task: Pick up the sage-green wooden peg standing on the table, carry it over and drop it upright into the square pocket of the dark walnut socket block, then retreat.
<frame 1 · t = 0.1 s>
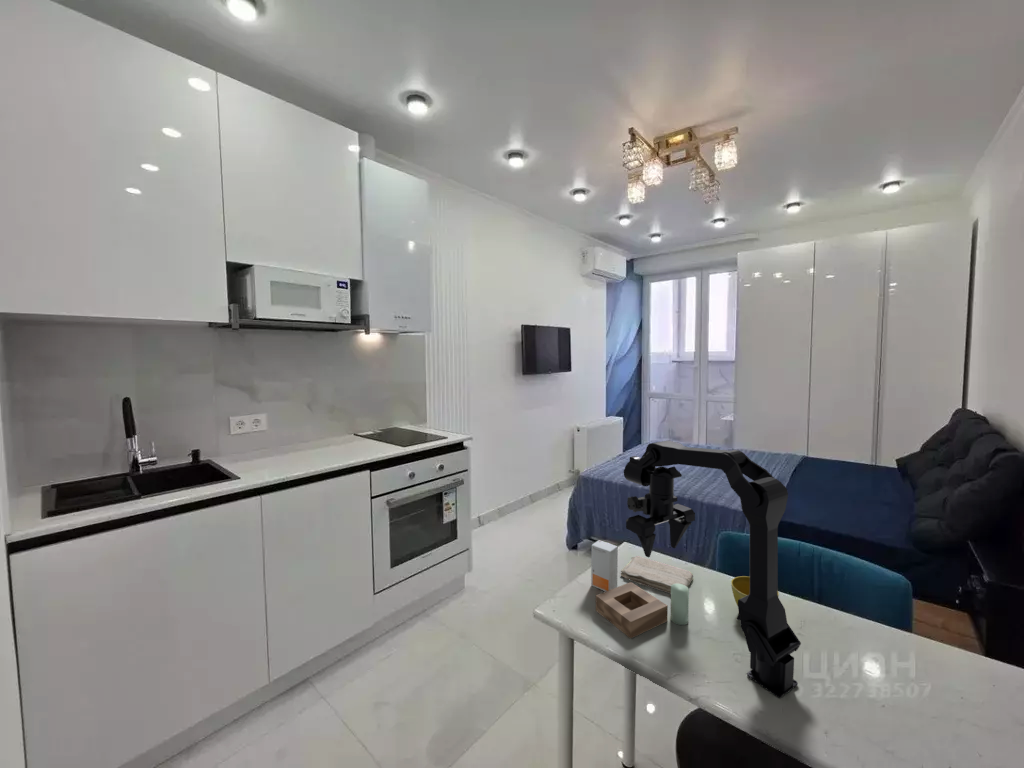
hand: (660, 552, 107), 14 cm above the table, fingers open, 9 cm apart
sage peg: (679, 619, 103), on the table
skincare box: (604, 587, 117), on the table
yellow bowl: (753, 615, 104), on the table
washcloth: (656, 579, 122), on the table
walnut socket: (630, 615, 105), on the table
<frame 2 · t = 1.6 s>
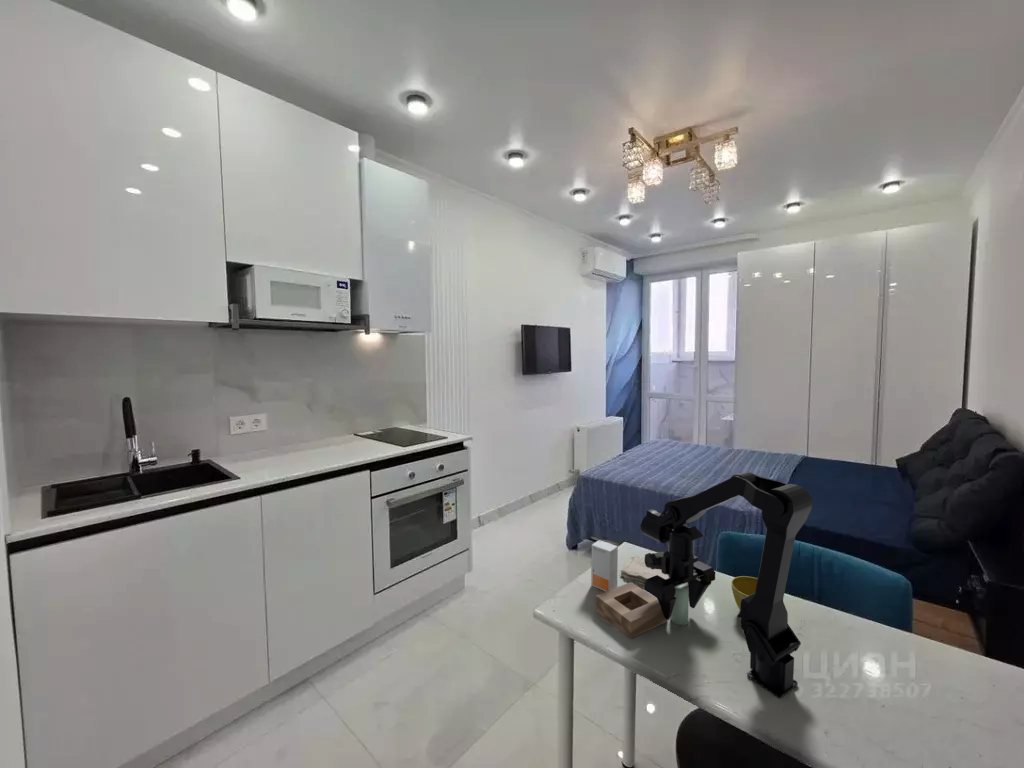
hand: (679, 613, 103), 2 cm above the table, fingers open, 9 cm apart
nothing on the table moved.
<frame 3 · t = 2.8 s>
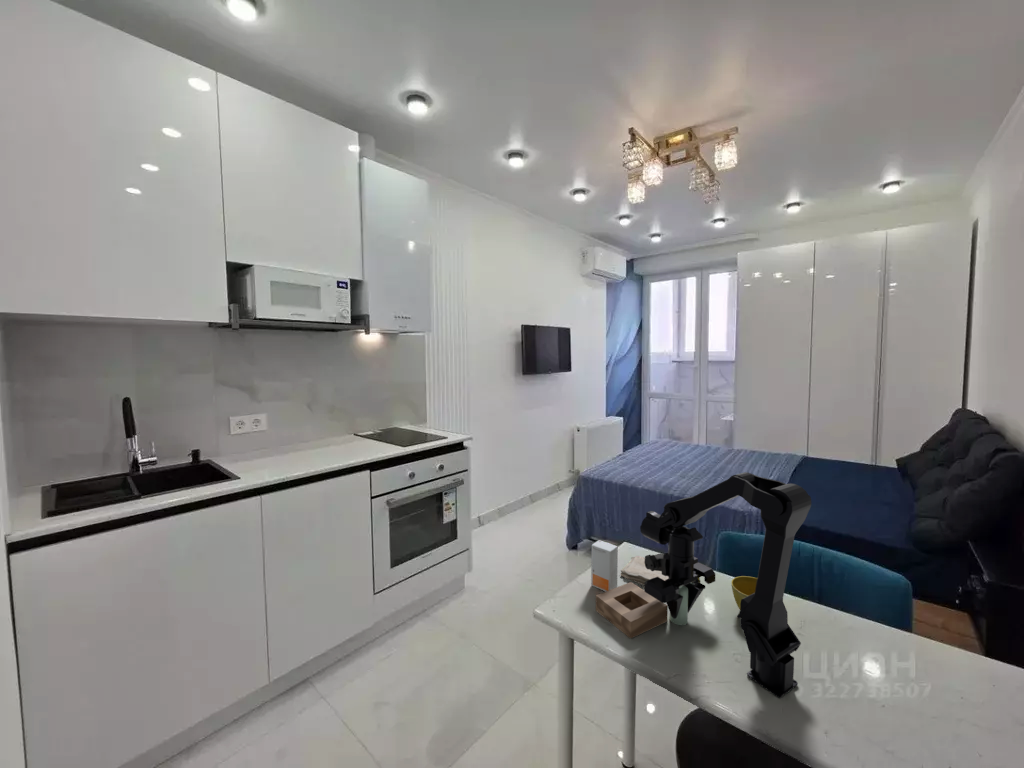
hand: (680, 614, 102), 1 cm above the table, fingers closed on sage peg, 4 cm apart
sage peg: (678, 619, 103), on the table, touching gripper
everything else where it was.
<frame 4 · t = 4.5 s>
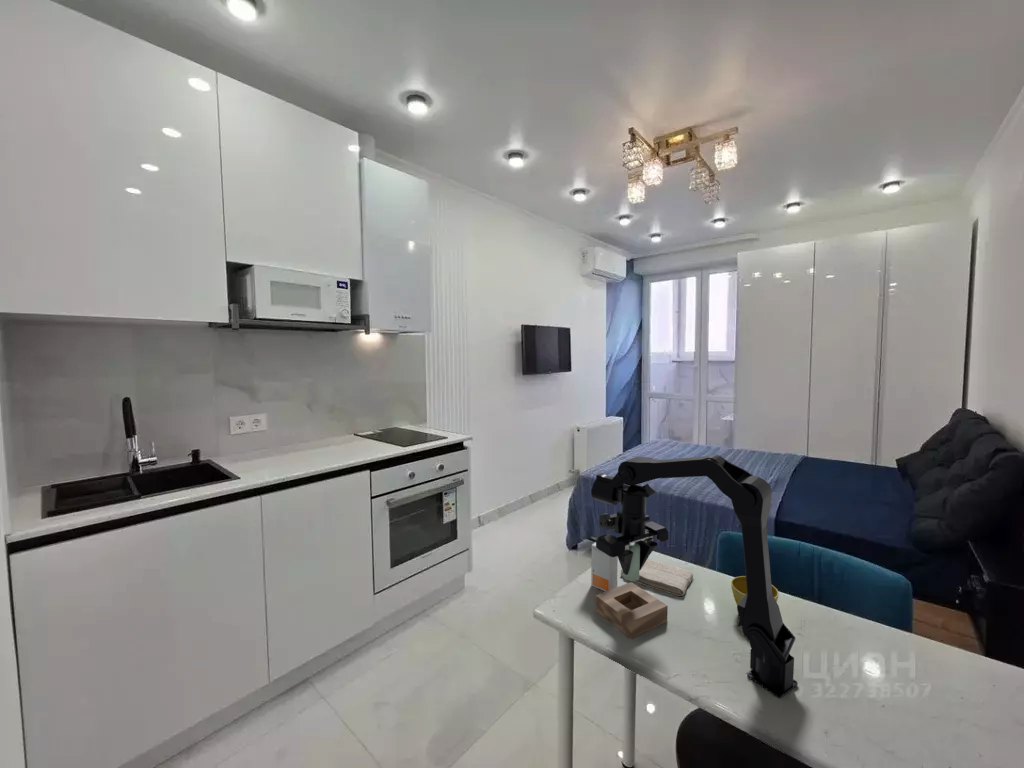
hand: (632, 571, 104), 11 cm above the table, fingers closed on sage peg, 4 cm apart
sage peg: (630, 576, 104), point 10 cm above the table, touching gripper
everything else where it was.
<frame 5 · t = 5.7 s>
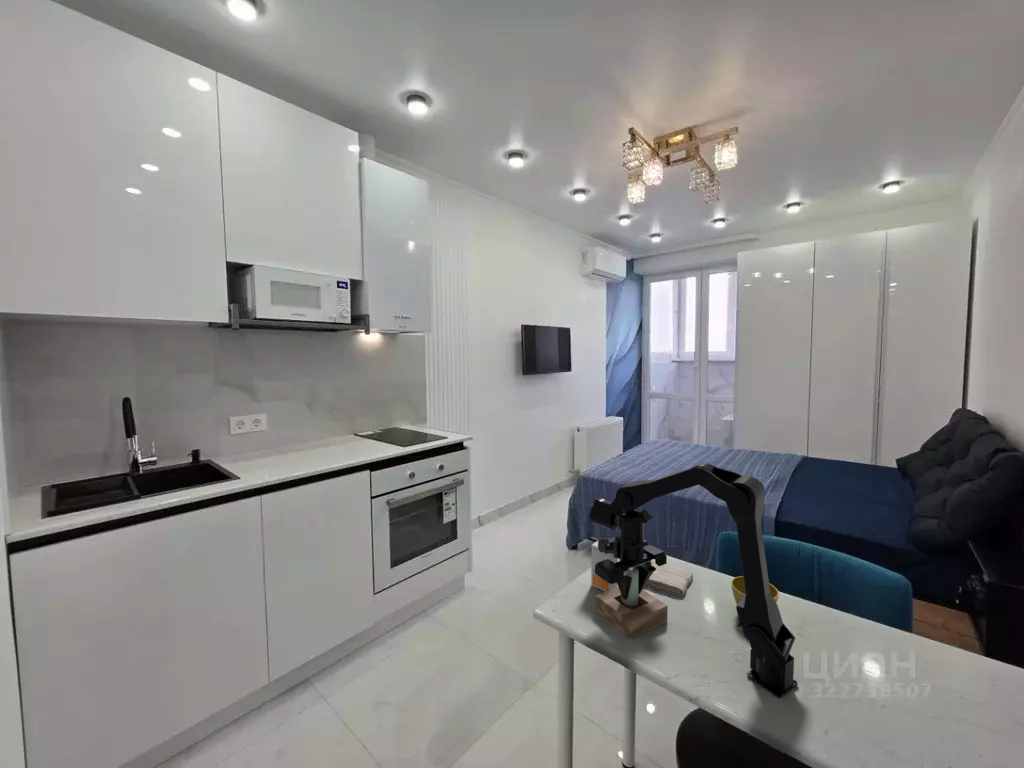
hand: (631, 596, 104), 5 cm above the table, fingers closed on sage peg, 4 cm apart
sage peg: (629, 601, 105), point 4 cm above the table, touching gripper
everything else where it was.
when the fingers open (5 cm above the table, at t = 6.3 s): sage peg drops 2 cm, resting on walnut socket.
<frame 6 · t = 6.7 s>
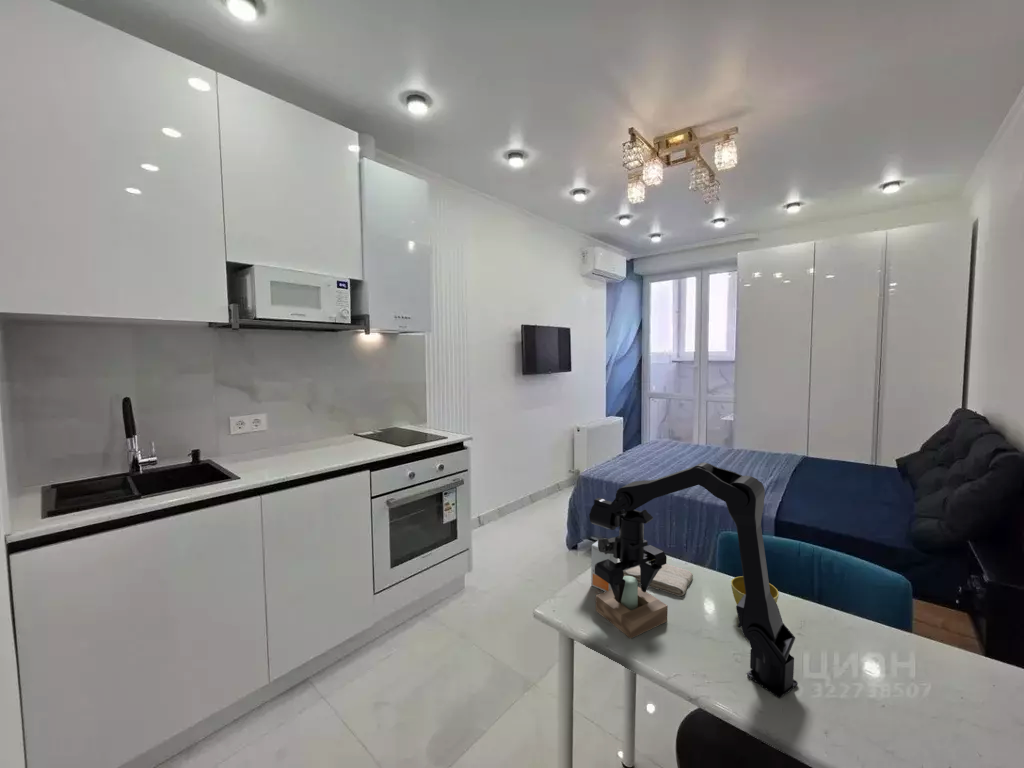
hand: (631, 596, 104), 5 cm above the table, fingers open, 8 cm apart
sage peg: (629, 610, 105), point 1 cm above the table, touching walnut socket
everything else where it was.
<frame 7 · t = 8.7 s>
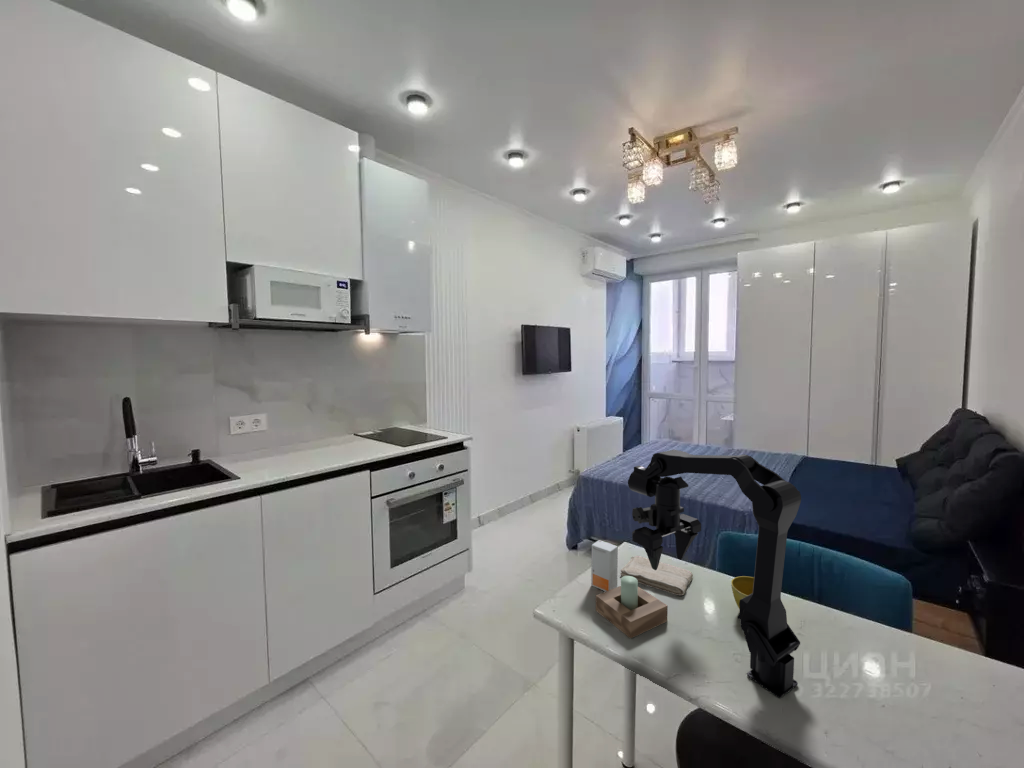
hand: (667, 564, 104), 13 cm above the table, fingers open, 9 cm apart
nothing on the table moved.
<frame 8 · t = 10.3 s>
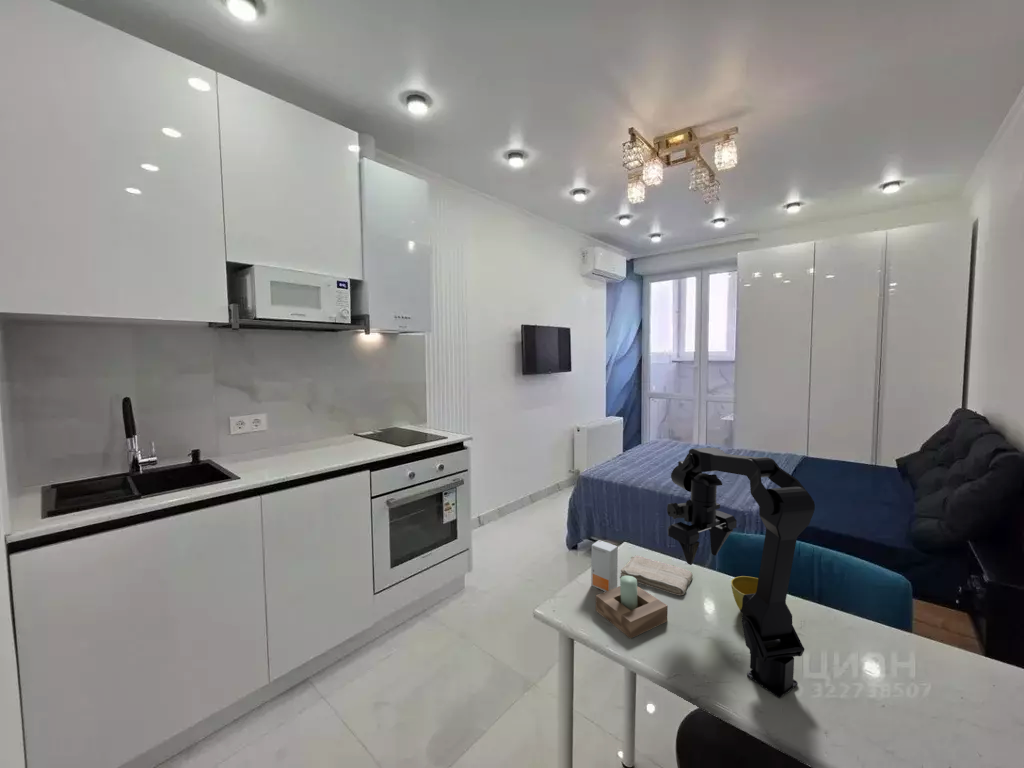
hand: (701, 559, 106), 13 cm above the table, fingers open, 9 cm apart
nothing on the table moved.
at the end: sage peg 0.4 cm off-centre on the walnut socket, point 1.1 cm above the walnut socket's base; sage peg tilted 2°; the gripper is holding nothing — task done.
